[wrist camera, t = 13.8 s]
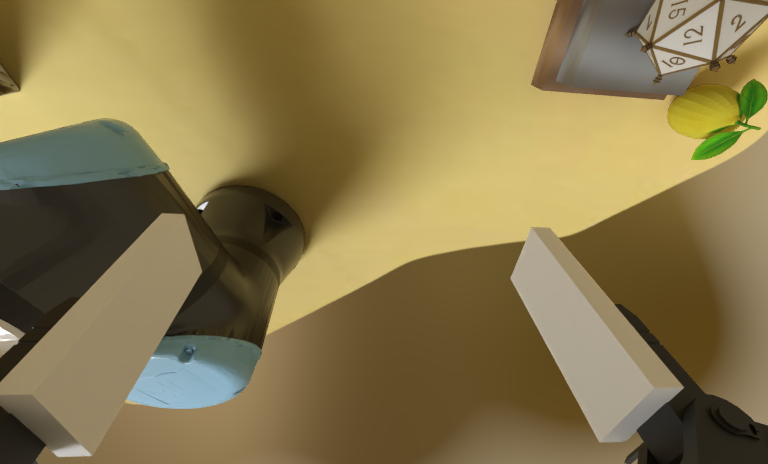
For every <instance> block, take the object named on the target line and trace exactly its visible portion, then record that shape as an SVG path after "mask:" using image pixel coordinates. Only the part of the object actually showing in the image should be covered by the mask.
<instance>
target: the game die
mask: <svg viewBox="0 0 768 464" xmlns="http://www.w3.org/2000/svg"><path fill="white" fill-rule="evenodd" d="M767 18H768V0H655V1H654V2H653V4H652V6H651V7H650V9H649V11H648V12H647V14H646V16H645V17H644V19H643V21H642V22H641V24H640V26H639V27H638V29H637V30H636V31H634V30H632V31H630V30H629V32H627V33H626V34H625V36H627V37H630V36H631V37H632V36H634V35H636V36H637V38H638V40H639V42H640V43H641V45H642V48H641V50H640V51H641V52H645V53H646V54H647V55H648V57H649V59H650V60H651V62H652V64H653V66H654V67H655V69H656V71H657V72H658V76H657V77H655V79H654V80H653V86H654V85H656V84H657V83H660V81H661V80H662V76H664V75H668V74H672V73H676V72H680V71H685V70H689V69H693V68H697V67H701V66H705V65H709V64H710V66H709V68H710V70H712V71H716V72H717V71H718V69H719V68H720V64H719V62H718V61H720V60H723V59H725V58H726V61H727V63H729V64H730V63H732V64H735V60H736V58H737V57H735V55H732V54H733V53H734V52H735V51H736V50H737V49H738V48H739V46H740V45H741V44H742V43H743V42H744V41H745V40H746V39H747V38H748V37H749V36H750V35H751V34H752V33H753V32H754V31H755V30H756V29H757V28H758V27H759V26H760V25H761V24H762V23H763V22H764V21H765V20H766V19H767Z"/></svg>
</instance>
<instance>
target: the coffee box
mask: <svg viewBox="0 0 768 464" xmlns="http://www.w3.org/2000/svg"><path fill="white" fill-rule="evenodd" d="M16 92H19V88H18V86H17V85H16V84H15V83H14V81H13V80H12V79H11V77H10V76H9V75H8V74H7V72H6V71H5V70H4V68H3V67H2V66H1V65H0V96H2V95H7V94H11V93H16Z"/></svg>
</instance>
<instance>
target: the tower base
mask: <svg viewBox="0 0 768 464" xmlns="http://www.w3.org/2000/svg"><path fill="white" fill-rule="evenodd" d="M654 1H655V0H557V3H556V7H555V10H554V13H553V16H552V19H551V23H550V26H549V29H548V32H547V35H546V39H545V42H544V45H543V48H542V51H541V55H540V58H539V61H538V64H537V67H536V71H535V74H534V77H533V80H532V83H531V85H533V86H535V87H537V88H539V89H541V90H544V91H557V92H569V93H582V94H595V95H608V96H620V97H633V98H646V99H659V100H664V99H665V97H666V96H667V95H678V96H684V94H685V92H686V90H687V89H688V87H689V85H690V83H691V82H692V80H693V78H694V76H695V75H696V73H697V71H698V69H699V68H700V67H697V68H693V69H689V70H685V71H680V72H676V73H672V74H668V75H664V76H662V80H661V81H660V83H657V84H656V85H654V86H653V80H654V79H655V77H657V76H658V72H657V71H656V69H655V67H654V66H653V64H652V62H651V60H650V59H649V57H648V55H647V54H646V53H645V52H641V51H640V50H641V48H642V45H641V43H640V42H639V40H638V38H637V36H636V35H634V36H632V37H631V36H630V37H627V36H625V34H626V33H627V32H629V30H630V31H632V30H634V31H636V30H637V29H638V27H639V26H640V24H641V22H642V21H643V19H644V17H645V16H646V14H647V12H648V11H649V9H650V7H651V6H652V4H653V2H654Z"/></svg>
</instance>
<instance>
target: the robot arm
mask: <svg viewBox="0 0 768 464" xmlns="http://www.w3.org/2000/svg"><path fill="white" fill-rule="evenodd" d="M169 169H170V168H169V166H168V165H167V163H164V162H162V161H161V160H160V159H159V158H158V156H157V155H156V154H155V153H154V151H153V150H152V149H151V148H150V146H149V145H148V144H147V143H146V141H145V140H144V139H143V138H142V136H141V135H140V134H139V133H138V132H137V131H136V130H135V129H134V128H133V127H131V126H130V125H128V124H126V123H124V122H122V121H119V120H115V119H106V118H104V119H96V120H92V121H87V122H83V123H79V124H75V125H70V126H66V127H62V128H58V129H54V130H50V131H46V132H42V133H38V134H33V135H29V136H25V137H21V138H17V139H13V140H9V141H5V142H1V143H0V354H3V353H5V354H4V355H3V356H2V357H1V358H0V464H38V463H37V461H36V458H37V457H38V455H39V454H40V453H41V451H42V450H43V448H44V447H45V446H46V447H47V448H49V449H50V450H51V451H52V452H53V453H54V454H55V455H57V456H58V457H66V456H92V455H93V454H94V452H95V450H96V449H97V447H98V445H99V444H100V442H101V440H102V439H103V437H104V435H105V434H106V432H107V430H108V429H109V427H110V425H111V424H112V422H113V420H114V419H115V417H116V415H117V414H118V412H119V410H120V409H121V407H122V405H123V404H124V402H125V400H126V399H127V400H129V401H132V402H136V403H140V404H144V405H148V406H154V407H162V408H174V409H190V408H201V407H208V406H213V405H217V404H219V403H223V402H226V401H228V400H230V399H232V398H234V397H235V396H237V395H238V394H239V393H241V392H242V391H243V390H244V389H245V388H246V386H247V385H248V383H249V381H250V380H251V377H252V374H253V372H254V369H255V366H256V364H257V361H258V360H259V359H260V357H261V354H262V351H261V350H262V346H263V342H264V339H265V335H266V332H267V328H268V324H269V321H270V317H271V314H272V310H273V306H274V303H275V299H276V295H277V292H278V288H279V285H280V284H281V283H282V282H283V281H284V280H285V278H286V277H287V276H288V275H289V274H290V272H291V271H292V270H293V269H294V268H295V267H296V265H297V264H298V262H299V260H300V258H301V255H302V251H303V247H304V242H305V234H304V229H303V226H302V223H301V221H300V219H299V217H298V216H297V214H296V213H295V212H294V210H293V209H292V208H291V207H290V206H289V205H288V204H287V203H285V202H284V201H283V200H281V199H280V198H278V197H277V196H275V195H273V194H271V193H269V192H267V191H264V190H261V189H258V188H254V187H248V186H229V187H224V188H220V189H217V190H215V191H213V192H211V193H209V194H208V195H206V196H205V197H204V198H203V199H202V200H201V201H200V202H199V203H198V205H197V206H196V207H195V206H194V205H193V203H192V202H191V200H190V199H189V198H188V196H187V195H186V194H185V192H184V191H183V190H182V188H181V187H180V185H179V184H178V183H177V181H176V180H175V179H174V177H173V176H172V175H171V173H170V172H169ZM511 280H512V282H513V284H514V286H515V287H516V289H517V291H518V293H519V295H520V297H521V299H522V300H523V302H524V304H525V306H526V308H527V310H528V311H529V313H530V315H531V317H532V319H533V320H534V322H535V324H536V326H537V328H538V330H539V332H540V333H541V335H542V337H543V339H544V341H545V343H546V345H547V346H548V348H549V350H550V352H551V354H552V356H553V357H554V359H555V361H556V363H557V365H558V366H559V368H560V370H561V372H562V374H563V376H564V377H565V379H566V381H567V383H568V385H569V387H570V389H571V391H572V392H573V394H574V396H575V398H576V400H577V402H578V403H579V405H580V407H581V409H582V411H583V413H584V414H585V416H586V418H587V420H588V422H589V424H590V425H591V427H592V429H593V431H594V433H595V435H596V436H597V438H598V440H599V442H624V441H626V440H627V439H628V438H629V437H630V436H632V435H633V434H634V433H635V432H636V431H637V432H638V433H639V435H640V436H641V438H642V440H643V441H644V442H643V443H642V444H641V445H640V446H639V447H638V448H636V449H635V450H634V451H633V452H632V453H631V454H629V455H628V456H627V458H626V460H625V463H627V464H631V463H632V462H634V461H635V460H636V459H637V458H638V464H768V426H767V425H764V424H760V423H757V422H754V421H753V420H752V419H751V417H749V416H748V415H747V414H746V413H745V412H743V411H742V410H741V409H740V408H738V407H737V406H735V405H733V404H732V403H730V402H728V401H727V400H725V399H722V398H720V397H717V396H714V395H707V394H705V393H704V392H703V391H702V390H701V388H699V386H698V385H697V384H696V383H695V382H694V381H693V380H692V378H691V377H690V376H689V375H688V374H687V373H686V372H685V370H684V369H683V368H682V367H681V366H680V365H679V364H678V362H677V361H676V360H675V359H674V358H673V357H672V356H671V355H670V354H669V352H668V351H667V350H666V349H665V348H664V347H663V346H662V345H660V342H659V341H658V340H657V339H656V337H655V336H654V335H653V334H650V333H649V330H648V328H647V327H646V326H645V325H644V324H643V323H642V322H641V321H640V319H639V318H638V317H637V316H636V315H634V314H633V313H632V312H630V311H629V310H628V309H626V308H625V307H623V306H622V305H620V304H613V303H612V301H611V300H610V299H609V298H608V297H607V295H606V294H605V293H604V292H603V291H602V289H601V288H600V287H599V286H598V285H597V284H596V282H595V281H594V280H593V279H592V278H591V276H590V275H589V274H588V273H587V272H586V270H585V269H584V268H583V267H582V266H581V265H580V263H579V262H578V261H577V260H576V259H575V257H574V256H573V255H572V254H571V253H570V252H569V250H568V249H567V248H566V247H565V245H564V244H563V243H562V242H561V241H560V239H559V238H558V237H557V236H556V235H555V234H554V232H553V231H552V230H551V229H550V228H540V227H531V230H530V232H529V234H528V237H527V239H526V242H525V244H524V247H523V250H522V252H521V254H520V257H519V259H518V262H517V264H516V267H515V269H514V271H513V274H512V276H511Z"/></svg>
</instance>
